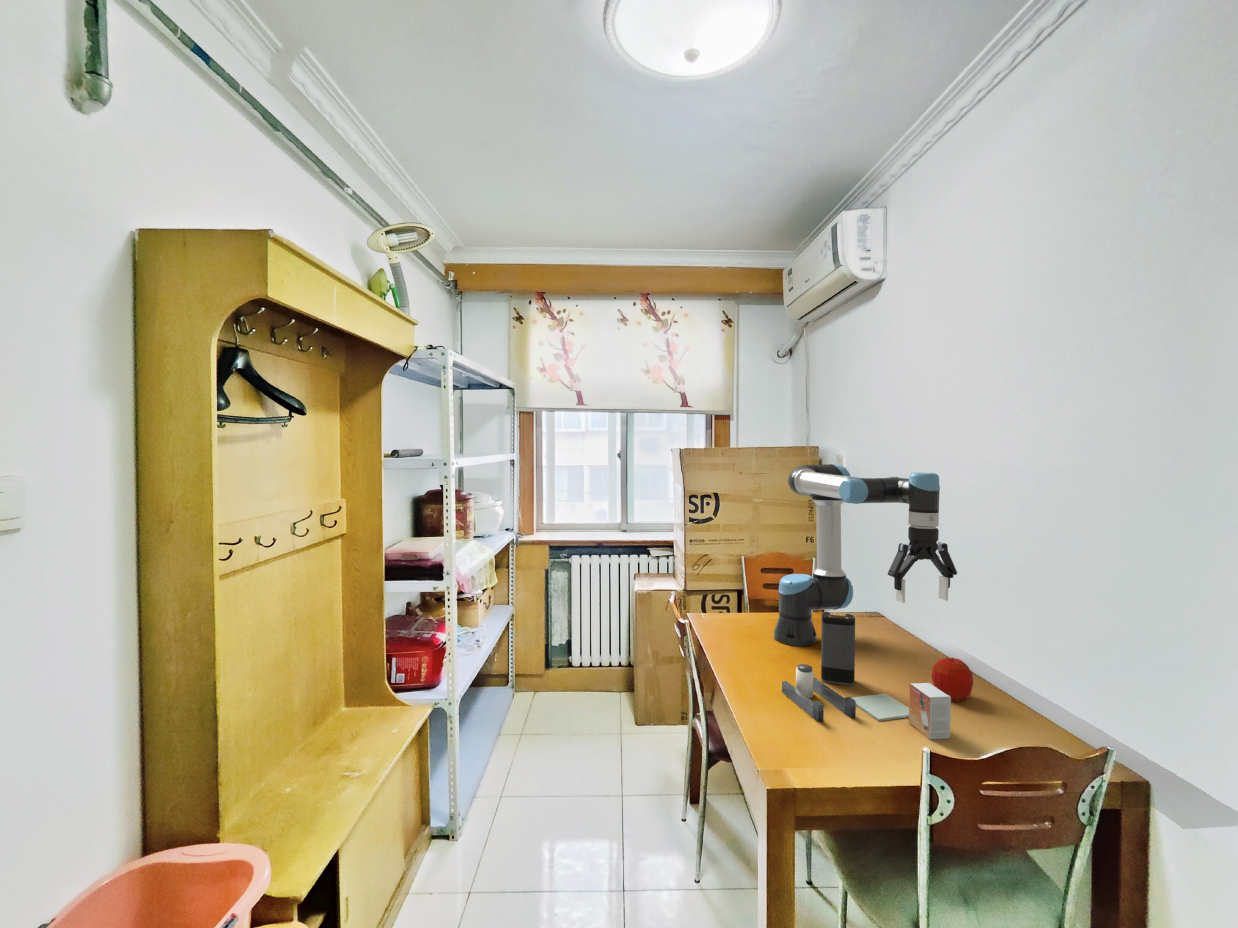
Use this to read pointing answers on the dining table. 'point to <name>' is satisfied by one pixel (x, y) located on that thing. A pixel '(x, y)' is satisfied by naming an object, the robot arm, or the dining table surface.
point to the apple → (952, 678)
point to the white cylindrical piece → (805, 680)
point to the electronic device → (838, 649)
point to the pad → (882, 707)
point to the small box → (930, 710)
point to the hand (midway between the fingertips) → (921, 600)
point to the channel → (816, 707)
